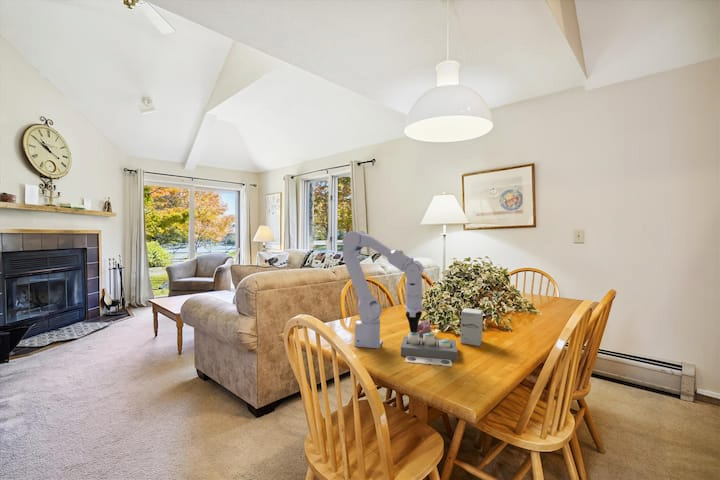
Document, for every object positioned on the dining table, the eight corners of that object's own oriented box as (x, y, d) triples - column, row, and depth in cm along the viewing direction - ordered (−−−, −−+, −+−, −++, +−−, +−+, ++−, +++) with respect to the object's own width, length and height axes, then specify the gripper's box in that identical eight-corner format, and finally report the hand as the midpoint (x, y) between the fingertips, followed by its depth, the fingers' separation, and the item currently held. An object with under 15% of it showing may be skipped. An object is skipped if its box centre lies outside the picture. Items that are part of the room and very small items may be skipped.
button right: (438, 354, 116) (439, 342, 116) (438, 350, 120) (439, 338, 120) (450, 355, 115) (450, 343, 115) (450, 351, 119) (450, 339, 119)
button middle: (423, 347, 117) (423, 335, 117) (423, 343, 121) (423, 332, 121) (434, 348, 116) (434, 336, 116) (434, 344, 120) (434, 333, 120)
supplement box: (459, 343, 127) (460, 311, 127) (463, 338, 134) (463, 307, 134) (480, 346, 124) (480, 313, 124) (482, 341, 131) (483, 309, 130)
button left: (407, 345, 118) (407, 334, 118) (408, 342, 122) (408, 331, 122) (418, 346, 117) (418, 335, 117) (419, 343, 121) (419, 331, 121)
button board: (400, 355, 115) (400, 347, 115) (404, 344, 127) (404, 336, 126) (457, 360, 111) (457, 351, 110) (455, 348, 122) (455, 340, 122)
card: (405, 362, 109) (405, 361, 109) (406, 356, 114) (406, 355, 114) (451, 366, 106) (451, 365, 106) (451, 360, 111) (451, 359, 111)
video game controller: (426, 342, 133) (434, 327, 133) (416, 337, 133) (424, 322, 133) (422, 335, 143) (429, 320, 143) (412, 330, 143) (420, 316, 143)
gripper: (424, 299, 111) (424, 339, 112) (425, 291, 125) (425, 327, 126) (403, 298, 113) (403, 337, 113) (407, 290, 127) (407, 325, 127)
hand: (413, 332), depth 120 cm, fingers closed
